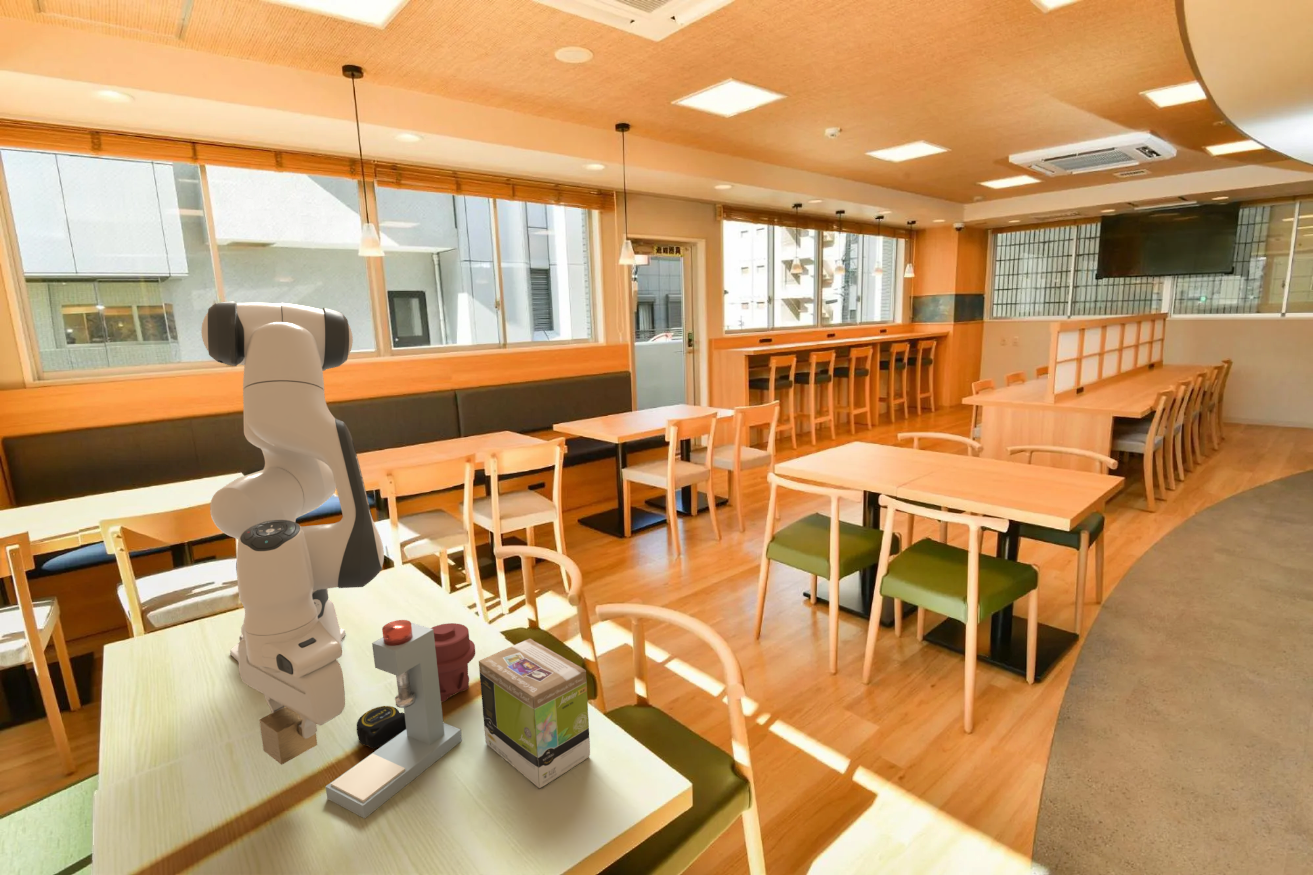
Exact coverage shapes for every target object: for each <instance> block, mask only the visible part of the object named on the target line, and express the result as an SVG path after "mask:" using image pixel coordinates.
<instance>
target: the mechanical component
mask: <svg viewBox="0 0 1313 875" xmlns="http://www.w3.org/2000/svg"><path fill="white" fill-rule="evenodd" d="M430 628H431V629H433V631H434V640H435V650H436V659H437V668H438V678H439V687H440V696H441V703H444V702H446V701H447V700H448V699H449V698H451V697H452V696H454V695H456V694H458V693H460V692H463V691H466V690H468V689H469V688H470V685H469V684H470V683H469V682H470V676H469V663H470V662H471V661H472V660H473V659H474V658H475V656H476V644H475V642H474V641H472V640H471V639H470V630H469V629H468V627H467V626H466V625H464V624H461V623H455V622H454V623H449V622H448V623H442V624H437V625H434V626H432V627H430Z"/></svg>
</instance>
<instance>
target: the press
mask: <svg viewBox="0 0 1313 875" xmlns="http://www.w3.org/2000/svg"><path fill="white" fill-rule="evenodd" d="M411 626H412V635H413V637H412V639H411V640H410V641H408V642H406V643H404V644H401V645H396V646H389V645H386V644H384V640H383V636H382V637H380V638H379V639H377V640H375V641H373V642H372V643H371V644H372V645H371V646H372V647H371V648H372V654H373V660H374V668H375V669H378V670H379V671H382V672H385V673H388V674H392V675H394V676H395V677H396V676H400V675H401V674H403V673H405V672H406V671H408V670H409V678H410V687H411V691H413V692H414V693H415V699H416V701H415V703H414V704H413V705H411V706H409V707H406V708H403V713H404V714H405V722H406V730H404V731H403V732H401V733H400V734H398V735H397V736H395V737H393V738H392V739H390V740H388V741H387V742H385V743H384V744H382V745H381V746H379V748H378V749H376V750H374V752H372V753H370V754H369V755H368V756H366V757H365V758H364V759H362V760H361V761H359V762H358V763H356V764H355V765H352V767H351V768H349V769H348V770H346V771H345V772H344V773H341V775H340V776H338V777H337V778H335V779H333V781H331V782H330V783H328V784H326V786H325V787H324V788H325V791H326V792H325V793H326V798H327V799H328V801H331V802H332V803H335V804H336V805H338V806H340V807H342V808H344V809H345V810H348V811H349V812H352V813H353V814H355V815H357V816H359V817H361V818H363V819H366V818H367V817H368V816H370V815H371V814H372V813H374V811H376V810H377V809H378V808H380V807H381V806H382V805H384V804H385V803H386V802H387V801H388V800H390V799H391V798H392V797H394V796H395V795H396V794H397V793H398V792H400V791H401V790H402V789H404V788H405V787H406V786H407V785H409V783H411V782H412V781H413V780H415V779H416V778H417V777H418V776H420V775H421V774H422V773H423V772H425V771H426V770H427V769H429V768H430V767H431V766H432V765H433V764H434V763H436V762H437V761H438V760H440V759H441V758H442V757H444V756H445V755H446V754H447V753H448V752H450V751H451V750H452V749H454V748H455V747H456V746H457V745H459V743H461V742H462V741H463V738H462V736H463V735H462V730H461V728H458V727H455V726H454V725H451V724H448V723H446V722H444V718H443V717H444V715H443V707H442V702H441V696H440V687H439V678H438V668H437V659H436V650H435V640H434V631H433V629H431V628H432V627H428V626H424V625H420V624H418V623H415V622H411Z"/></svg>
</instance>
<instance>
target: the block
mask: <svg viewBox="0 0 1313 875" xmlns="http://www.w3.org/2000/svg"><path fill="white" fill-rule="evenodd" d="M302 720H303V719H302V718H300V714H298V713H296V712H294V711H292V710H291V709H289V708H287V707H284V708H282V709H280V710H278V711H276V712H274V713H272V712H271V713H270V714H268V715H266V716H263V717H262V718H260V719H259V726H260V733H261V734H260V735H261V742H262V749H263V752H264V753H266V754H267V755H269V757H271V758H272V759H273V760H275V761H276V762H277V763H278V764H279V765H281V766H282V765H284V764H286V763H287V762H289V761H291V760H293V759H295V758H297V757H299V756H300V755H302V754H304V753H306V752H307V751H309V750H310V749H312V748H315V747H316V746H318V739H317V732H316V733H315V734H314V735H313V736H311V737H309V738H307V739H305V738H304V737H302V736H301V735H299V733H298V732H299V730H298V725H299V724H301V723H302Z"/></svg>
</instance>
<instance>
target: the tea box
mask: <svg viewBox="0 0 1313 875" xmlns="http://www.w3.org/2000/svg"><path fill="white" fill-rule="evenodd" d="M478 667H479V668H478V669H479V672H478V673H479V679H480V690H481V691H480V693H481V704H482V706H481V707H482V717H483V725H484V726H483V731H484V737H485V738H484V739H485V744H486V745H487V746H488V747H489V748H491V749H492V750H493V751H495V752H496V753H497V754H498V755H499V756H500V757H501V758H503V759H504V760H505V761H506V762H508V763H509V764H510V765H511V766H512V767H513V768H515V770H517V771H518V772H519V773H521V774H522V775H523V776H524V777H525V778H527V779H528V780H529V781H530V782H531V783H532V784H534V786H536V787H537V788H539V789H541V788H543V787H544V786H546V785H548V784H549V783H551V782H553V781H554V780H556V779H557V778H559V777H561V776H563V775H564V774H565V773H566V772H568V771H569V770H572V769H573V768H575V767H576V766H578V765H580V763H582V762H584V761H585V760H586V759H588V758H590V755H591V743H590V742H591V740H590V724H589V722H590V720H589V703H588V702H589V700H588V683H587V682H588V680H587V670H586V669H584V668H583V667H582V666H580V665H578V664H576V663H574V662H572V661H571V660H569V659H567V658H565V657H564V656H562V655H560V654H558V653H556V652H554V651H553V650H552V649H549V648H547V647H546V646H544V645H543V644H541V643H539V642H537V641H534V639H532V638H527V639H525V640H523V641H521V642H517V643H516V644H513V645H511V646H510V647H507V648H505V649H503V650H500V651H498V652H496V653H493V654H491V655H489V656H487V657H484V658H482V659H480V660H478Z"/></svg>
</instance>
